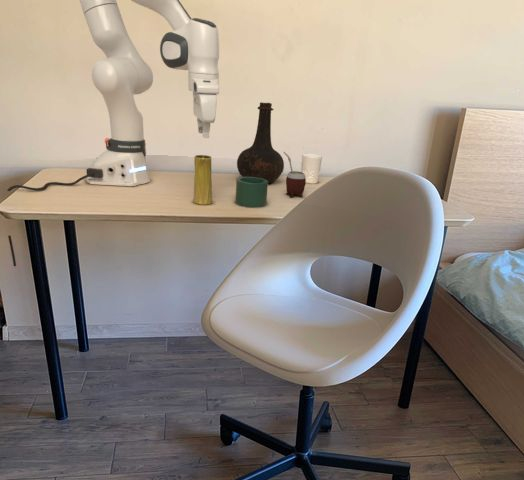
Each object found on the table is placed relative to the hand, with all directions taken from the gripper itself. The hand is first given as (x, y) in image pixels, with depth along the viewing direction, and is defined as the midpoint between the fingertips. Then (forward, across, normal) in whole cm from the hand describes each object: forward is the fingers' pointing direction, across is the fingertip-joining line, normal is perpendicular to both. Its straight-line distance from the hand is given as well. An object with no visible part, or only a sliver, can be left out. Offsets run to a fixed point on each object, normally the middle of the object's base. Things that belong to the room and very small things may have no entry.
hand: (203, 135), depth 156 cm
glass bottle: (+21, -31, +27) cm, 46 cm away
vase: (+21, 0, 0) cm, 21 cm away
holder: (+20, +1, +16) cm, 26 cm away
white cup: (+21, -32, +48) cm, 61 cm away
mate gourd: (+21, -9, +34) cm, 41 cm away
